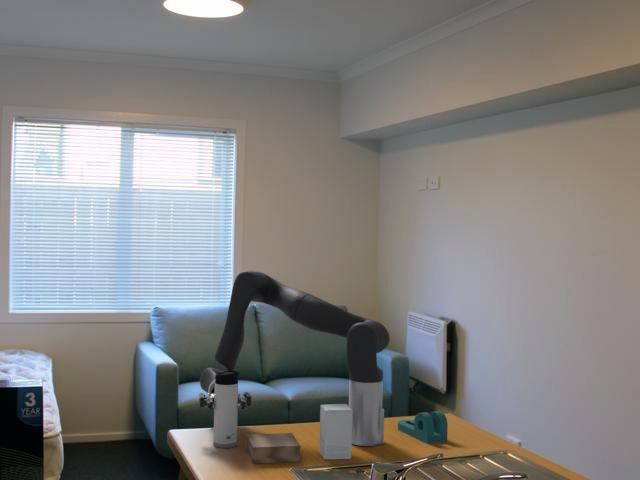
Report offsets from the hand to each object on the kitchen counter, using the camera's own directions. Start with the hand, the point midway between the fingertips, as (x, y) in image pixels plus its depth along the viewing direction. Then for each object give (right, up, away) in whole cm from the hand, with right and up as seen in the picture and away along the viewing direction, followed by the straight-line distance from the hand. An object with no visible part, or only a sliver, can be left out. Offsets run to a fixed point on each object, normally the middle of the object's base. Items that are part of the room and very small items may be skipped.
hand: (227, 405), depth 200 cm
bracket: (+53, -13, +18) cm, 58 cm away
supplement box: (+28, -12, -5) cm, 31 cm away
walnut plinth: (+12, -11, -6) cm, 18 cm away
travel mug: (-1, -11, +2) cm, 11 cm away
